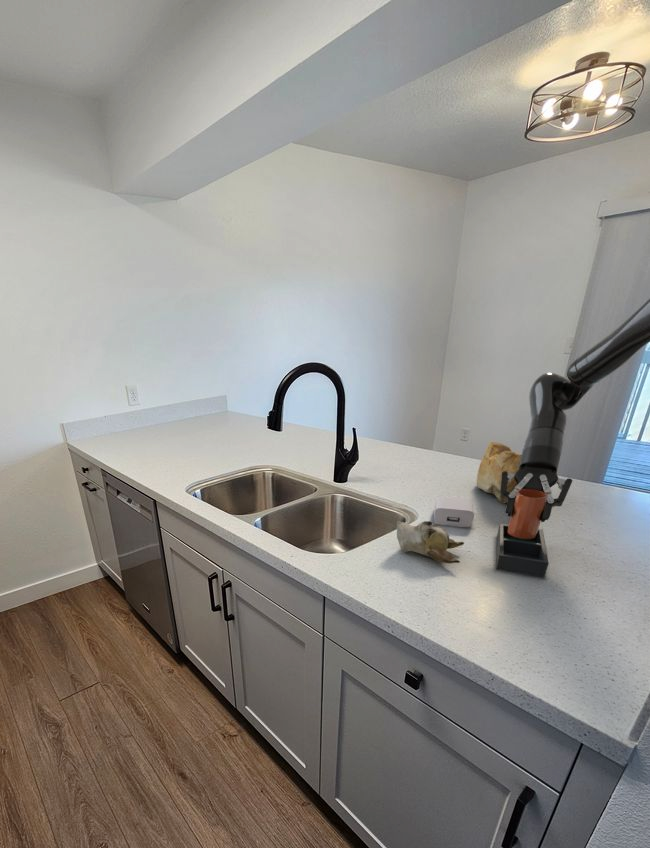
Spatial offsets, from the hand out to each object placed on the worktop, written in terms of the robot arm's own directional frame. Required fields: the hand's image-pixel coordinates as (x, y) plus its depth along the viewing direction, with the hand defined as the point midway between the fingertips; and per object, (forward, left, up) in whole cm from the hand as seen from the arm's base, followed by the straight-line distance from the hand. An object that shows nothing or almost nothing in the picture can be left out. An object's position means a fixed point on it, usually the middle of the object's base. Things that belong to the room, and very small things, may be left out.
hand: (526, 517), depth 98 cm
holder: (0, +2, -8) cm, 9 cm away
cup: (0, -2, -5) cm, 5 cm away
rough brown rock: (+1, -37, -9) cm, 38 cm away
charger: (+15, -16, -9) cm, 24 cm away
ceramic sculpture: (+19, +9, -9) cm, 23 cm away
